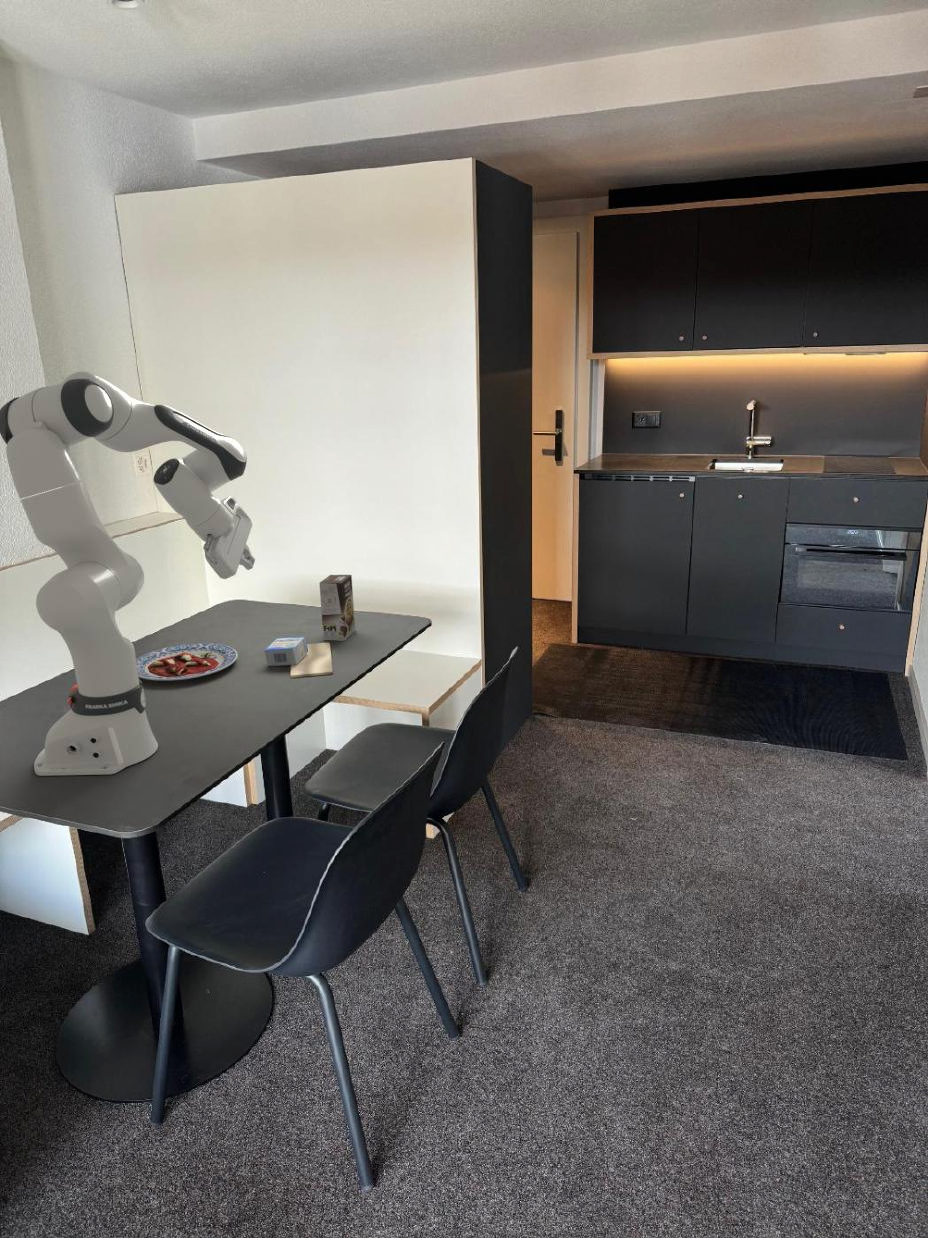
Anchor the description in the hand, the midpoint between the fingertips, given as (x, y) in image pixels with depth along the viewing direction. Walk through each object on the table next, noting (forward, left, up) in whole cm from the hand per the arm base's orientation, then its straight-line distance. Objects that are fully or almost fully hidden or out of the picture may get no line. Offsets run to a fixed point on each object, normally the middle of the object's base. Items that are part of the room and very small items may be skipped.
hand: (251, 565), depth 204 cm
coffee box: (+20, +25, -27) cm, 42 cm away
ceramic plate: (-19, +10, -28) cm, 35 cm away
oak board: (+12, +7, -27) cm, 30 cm away
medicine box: (+4, +3, -25) cm, 25 cm away
